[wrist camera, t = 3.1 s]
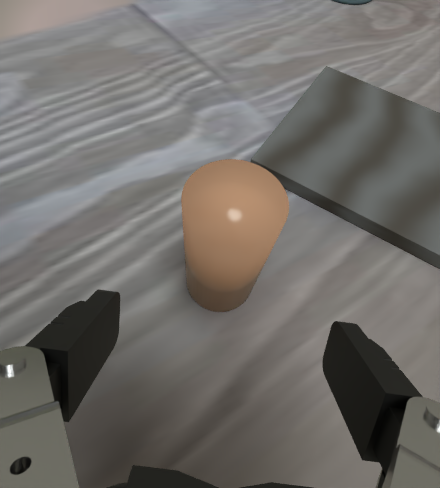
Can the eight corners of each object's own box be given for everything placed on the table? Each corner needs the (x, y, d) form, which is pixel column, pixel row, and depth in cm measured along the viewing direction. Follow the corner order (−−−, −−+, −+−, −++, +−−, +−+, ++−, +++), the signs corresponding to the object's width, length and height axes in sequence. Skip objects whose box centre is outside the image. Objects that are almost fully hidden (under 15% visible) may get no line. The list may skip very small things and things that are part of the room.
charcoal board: (248, 169, 31) (251, 159, 30) (322, 77, 40) (326, 66, 38) (439, 268, 27) (452, 261, 26) (474, 141, 36) (484, 131, 34)
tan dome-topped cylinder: (173, 288, 24) (158, 210, 14) (210, 239, 27) (219, 145, 17) (230, 325, 23) (256, 268, 13) (263, 271, 25) (305, 189, 16)
